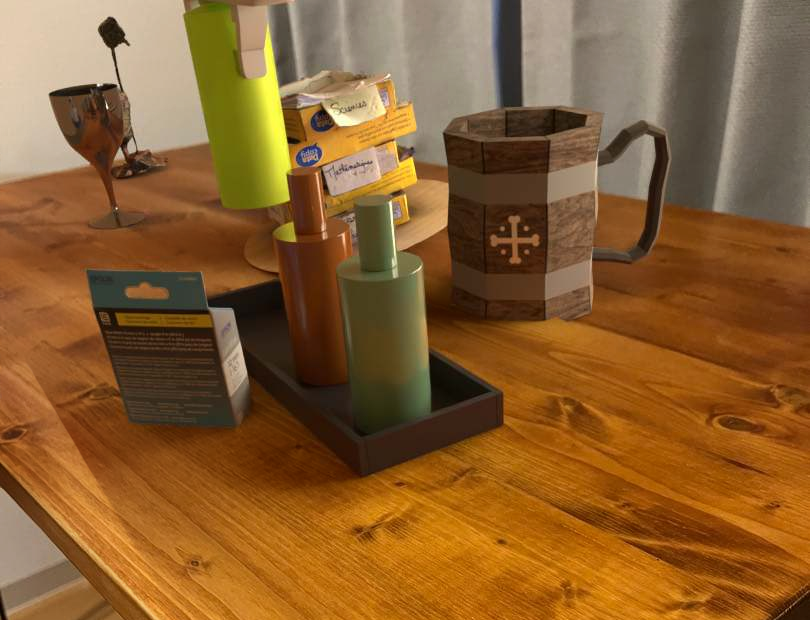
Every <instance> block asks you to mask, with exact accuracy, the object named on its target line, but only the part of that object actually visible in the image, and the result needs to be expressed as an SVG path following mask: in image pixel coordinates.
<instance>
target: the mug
mask: <svg viewBox="0 0 810 620" xmlns="http://www.w3.org/2000/svg"><path fill="white" fill-rule="evenodd" d="M604 115H605V113H604V112H601V111H595V110H590V109H584V108H578V107H572V106H568V105H561V104H560V105H544V106H543V105H542V106H541V105H537V106H512V107H499V108H495V109H489V110H484V111H481V112H480V111H479V112H476V113H471V114H468V115H462V116H458V117H453V118H452V119H451V121H450V122H449V123H448V124H447V126H446V127H445V128H444V130H443V131H442V138H443V143H444V150H445V157H446V163H447V183H448V186H449V199H448V222H447V226H446V228H447V236H448V244H449V245H448V246H449V252H450V258H451V259H450V263H451V264H450V265H451V295H450V304H451V305H453V306H455V307H457V308H459V309H462V310H464V311H466V312H468V313H470V314H471V315H474V316H476V317H478V318H480V319H482V320H484V321H532V322H533V321H535V322H536V321H537V322H538V321H539V322H541V321H543V322H545V321H549V320H551V319H554V318H557V319H559V320H561V321H564V322H566V323H567V322H570V321H572V320H575V319H578V318H581V317H584V316H586V315H589V314H591V313H592V310H593V309H592V307H593V300H594V299H593V298H594V277H593V275H594V274H593V262H601V263H616V264H624V265H633V264H635V263H636V262H639V261H641V260H642V259H644V258H646V257H648V256H649V255H650V252H651V251H652V249H653V247H654V245H655V243H656V241H657V239H658V237H659V234H660V229H661V224H662V219H663V212H664V201H665V193H666V187H667V181H668V178H669V177H668V176H669V173H670V172H669V171H670V167H671V163H672V159H673V156H672V151H671V146H670V142H669V136H668V130H666V128H665V127H664V126H661V125H658V124H655V123H653V122H650V121H647V120H645V119H640V120H638V121H636V122H634V123H632V124H630V125H628V126H626V127H625V128H622V129H621V130H620V131H619V133H618V134H617V135H616V136H615V137H614V138H613V140H612V141H611V142H610V143H609V144H608V145H607V146H606V147H605V148H604V149H602V150H599V146H600V141H601V140H600V139H601V133H602V127H603V121H604ZM645 135H646V136H647V135H648V136H650V137H653V145H654V152H655V153H654V154H655V158H654V163H653V167H652V171H651V176H650V180H649V185H648V191H647V194H648V195H647V201H646V202H647V203H646V211H645V220H644V228H643V230H642V233H641V235H640V237H639V240H638V242H637V244H636V245H634V246H632V247H630V248H628V249H626V250H620V249H617V248H612V247H599V246H598V247H597V246H594V240H595V234H596V227H597V219H598V212H599V195H598V193H599V191H598V190H599V189H598V168H599V167H602V166H607V165H610V164H614V163H615V162H616V161H617V160H618V159H620V157H622V155H624V154H625V152H626V151H627V150H628V148H629V147H630V146H631V145H632V143H633V142H634V141H636V140H638V139H640V138H641V137H643V136H645Z"/></svg>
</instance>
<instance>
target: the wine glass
mask: <svg viewBox="0 0 810 620" xmlns="http://www.w3.org/2000/svg"><path fill="white" fill-rule="evenodd" d="M118 86H119V85H118V84H116V83H112V82H111V83H108V82H106V83H103V82H101V83H99V82H98V83H88V84H81V85H79V84H78V85H74V86H67V87H63V88H59V89H56V90H53V91H51V92H49V93H48V98H49V102H50V106H51V109H52V112H53V115H54V118H55V120H56V123H57V125H58V127H59V129H60V132H61V134H62V136H63V137H64V139H65V141H66V142H67V144H68V146H70V147H71V148H72V149H73V150H74V152H76V153H77V154H78V155H79V156H81V157H82V158H84V160H86V161H87V162H88V163H89V164H90V163H91V164H92V167H93V168H94V169H95V170H96V171H97V173H98V175H99V176H100V178H101V181H102V183H103V186H104V188H105V191H106V194H107V198H108V201H109V205H110V211H109V212H107V213H105V214H102V215H99V216H97V217H95V218H93V219H91V220H90V221H89V223H88V225H89V227H90V228H92V229H97V230H98V229H99V230H108V229H110V230H111V229H118V228H123V227H128V226H132V225H134V224H135V225H136V224H137V223H139V222H142V221H143V220H145V218H146V217H147V215H146V214H145V213H144V212H142V211H138V210H122V209H120V208H119V206H118V203H117V201H116V200H117V199H116V196H115V191H114V187H113V186H114V185H113V179H112V178H113V177H112V174H111V169H112V168H113V165H114V161H115V158H116V157H117V154H118V152H119V150H120V149H121V148H120V146H121V144H122V141H123V138H124V116H123V108H122V103H121V98H120V94H119V90H118V88H119V87H118Z"/></svg>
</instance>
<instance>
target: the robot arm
mask: <svg viewBox="0 0 810 620" xmlns="http://www.w3.org/2000/svg"><path fill="white" fill-rule="evenodd" d="M201 1H207V2H215V3H224V4H229V8H230V14H231V20H232V22H233V23H235V27H236V47H237V50H233V54H234V60H235V63H236V71H237V74H238V75H239V76H241V77H243V78H246V79H256V78H261V77H264V76H265V75H266V74H267V64H266V57H265V50H264V48H265V42H266V34H267V26H268V25H269V16H268V9H267V6H274V5H281V4H285V3H292V2H295V1H296V0H201ZM182 2H183V7H184V11H185V12H184V13H186V12H188V11H190V10H192V9H194V8H197V7H200V5H199V2H198V0H182Z"/></svg>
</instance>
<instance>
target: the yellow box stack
mask: <svg viewBox="0 0 810 620" xmlns="http://www.w3.org/2000/svg"><path fill="white" fill-rule="evenodd" d="M278 87H279V93H280V100H281V106H282V112H283V118H284V125H285V131H286V137H287V143H288V150H289V156H290V162H291V168H292V169H294V168H298V167H306V166H312V167H318V168H320V170H321V178H322V186H323V194H324V202H325V210H326V218H334V219H340V220H343V221H346V222H347V223H348V224H349V225H350V231H351V240H352V249H353V256H356V255H359V251H358V242H357V232H356V223H355V214H354V204H353V202H354V200H356V199H358V198H360V197H364V196H369V195H386V196H390V197H392V199H393V211H394V223H395V236H396V248H397V251H401V252H402V251H403V250H407V249H409V248H411V247H413V246H414V245H416V244H418V243H421V242H423V241H425V240H427V239H428V238H431V236H434V235H435V234H436V233H439V232H440V231H441V230H443V229H444V228H446V227H447V222H448V199H449V186H448V182H445V181H442V180H441V181H440V180H435V179H427V178H425V179H423V178H417V177H418V176H417V173H416V169H415V164H414V158H413V156H414V154H415V153H416V151H417V148H416V147H414V146H410V148H409V147H408V148H407V147H406V146H403V145H400V144H398V143H397V142H396V139H397V138H401V137H404V136H406V135H410V134H413V133H414V132H416V131H417V127H418V126H417V123H416V122H417V121H416V118H415V112H414V107H413V103H412V101H408V100H405V99H403V100H402V99H401V100H399V99H398V98H397V97H396V92H395V85H394V81H393V79H392V78H391V74H390V73H379V74H373V75H372V74H369V75H368V74H365V73H364V71H362V70H360V74H359V73H356V74H355V73H354V72H351V71H343V72H342V71H341V70H340V69H339V68H337V69H336V70H333V69H332V70H321V71H320V72H318V73H316V74H315V75H313V76H311V77H308V76H307V77H304V76H303V77H301V78H300V79H298V80H295V81H290V82H287V83H285V84H282V85H280V86H278ZM265 208H266V210H267V212H268V217H269V219H271V220H269V221H267V222H266V223H265V224H264V225H263V226H261V227H260V228H259V229H257V231H255V232H254V233H253V234H252V235H251V236H250V237H249V239H248V240H247V242H246V243H245V246H244V250H243V255H244V256H243V257H244V258H245V260H246V262H248V263H249V264H250V265H251V266H253V267H255V268H257V269H260V270H263V271H267V272H271V273H272V272H273V273H278V266H277V260H276V254H275V248H274V242H273V236H272V235H273V232H274V230H275V229H277V228H278V227H280V226H282V225H285V224H287V223H290V222H293V218H292V211H291V205H290V200H289V201H287V202H285V203H282V204H278V205H274V206H270V207H265Z"/></svg>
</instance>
